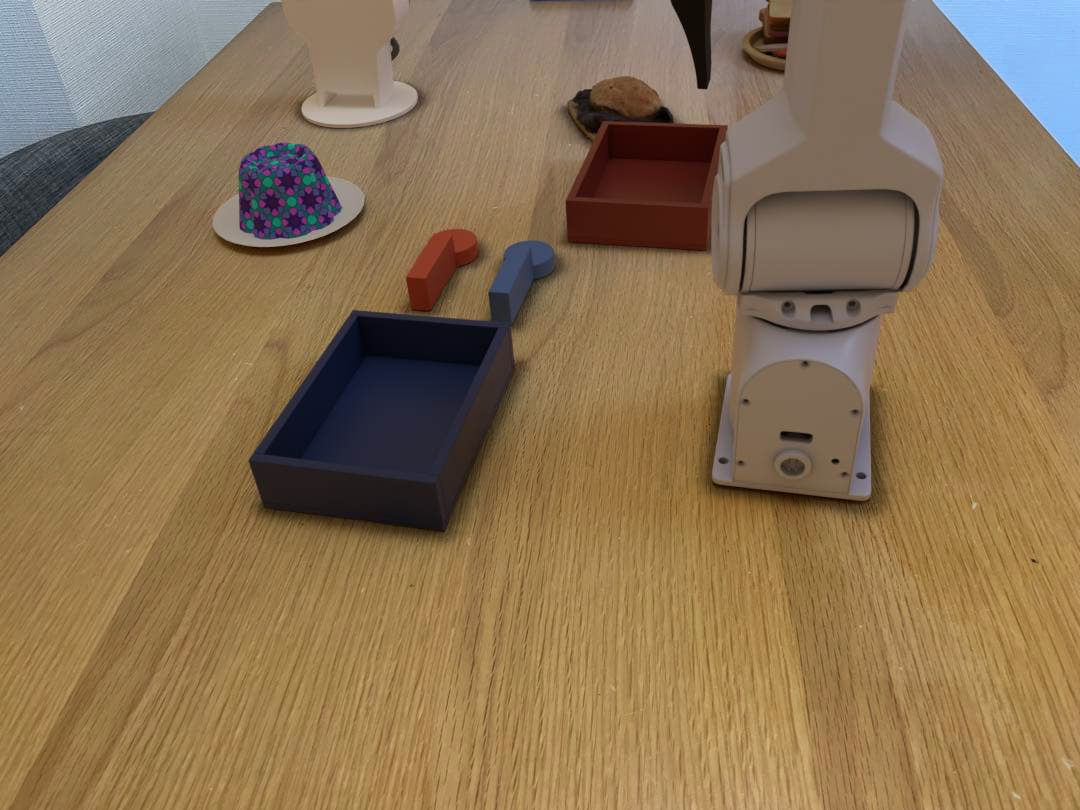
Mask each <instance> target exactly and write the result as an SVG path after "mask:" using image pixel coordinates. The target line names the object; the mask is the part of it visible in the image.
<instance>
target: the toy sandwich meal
mask: <svg viewBox="0 0 1080 810" xmlns="http://www.w3.org/2000/svg"><path fill="white" fill-rule="evenodd" d="M765 1H766V2H767V3H768V4H767V6H766V7H763V8H760V10H759V13H758V20H759V22H761V24H762V26H759V27H756V28H754V29H752V30H751V31H749V32H747V33H746V34H745V35H744V36H743V38H742V39H741V46H742V49H743V50H744V51H745V52H746V53H747V54H748V55H749V57H750V58H751V59H752V60H753V61H754V62H756V63H757V64H759V65H761V66H764V67H766V68H769V69H773V70H777V71H783V72H785V65H786V55H787V46H788V37H789V28H790V19H791V9H792V0H765Z"/></svg>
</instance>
